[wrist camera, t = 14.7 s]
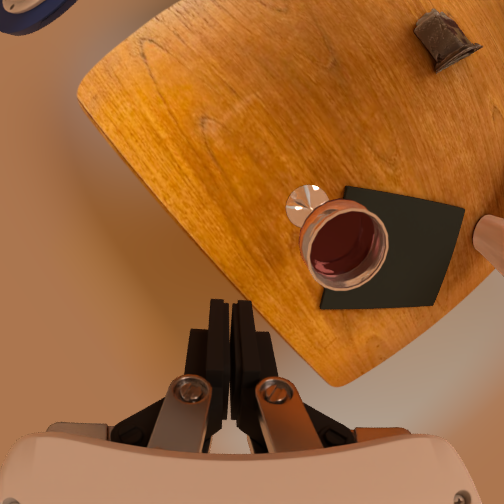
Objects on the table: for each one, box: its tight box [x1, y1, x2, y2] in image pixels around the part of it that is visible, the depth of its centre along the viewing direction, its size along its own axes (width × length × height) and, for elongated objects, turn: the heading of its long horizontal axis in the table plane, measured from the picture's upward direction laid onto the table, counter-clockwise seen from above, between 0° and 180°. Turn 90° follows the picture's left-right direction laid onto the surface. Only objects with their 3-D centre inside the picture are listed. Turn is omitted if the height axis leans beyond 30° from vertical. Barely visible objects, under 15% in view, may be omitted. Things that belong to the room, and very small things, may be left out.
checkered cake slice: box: [414, 9, 483, 74], centre depth 21 cm, size 10×7×12 cm
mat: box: [320, 186, 465, 309], centre depth 35 cm, size 20×16×1 cm
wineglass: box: [286, 185, 388, 291], centre depth 26 cm, size 7×7×12 cm
